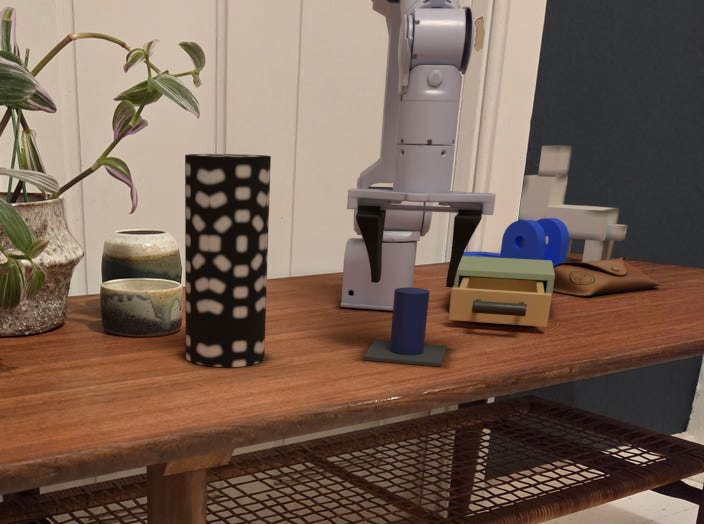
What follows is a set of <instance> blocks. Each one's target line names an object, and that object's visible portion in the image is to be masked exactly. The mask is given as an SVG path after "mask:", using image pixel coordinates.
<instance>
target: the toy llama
mask: <svg viewBox="0 0 704 524" xmlns="http://www.w3.org/2000/svg"><path fill="white" fill-rule="evenodd" d="M572 152H573V145H542V146H541V151H540V153H541V154H540V159H539V166H538V174H529V175H527V174H526V175H524V176H523V182H522V183H523V184H522V190H521V198H520V206H519V213H518V221H519V220H534V221H537V220H539V219H545V218H556V219H559V220H561V221H562V222H563V223H564V224H565V225H566V227H567V229H568V233H569V243H568V249H567V256H566V262H570V256H571V249H572V243H573V239H574V240H584V241H585V242H584V248H583V254H582V260H581V262H588V261H600V260H612V257H613V252H614V246H615V242H622V241H626V236H627V230H628V224H619V218H620V217H619V216H620V211H621V207H609V206H594V205H592V206H591V205H578V204H565V198H566V193H567V186H568V179H569V173H570V165H571V158H572V154H573V153H572ZM547 243H548V236H546V244H547Z"/></svg>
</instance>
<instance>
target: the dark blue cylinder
mask: <svg viewBox="0 0 704 524" xmlns="http://www.w3.org/2000/svg"><path fill="white" fill-rule="evenodd" d="M429 301H430V290H428V289H426V288H421V287H413V288H397V289H395V292H394V303H393V311H392V317H391V327H390V329H391V331H390V340H389V341H390V351H391V352H393V353H396V354H401V355H418V354H422V353H423V352H424V344H425V342H426V331H427V321H428V311H429Z"/></svg>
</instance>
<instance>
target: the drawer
mask: <svg viewBox="0 0 704 524" xmlns="http://www.w3.org/2000/svg"><path fill="white" fill-rule="evenodd" d="M451 289H452V288H451ZM450 298H451V305H450V304H449V308H450V311H449V314H448V321H458V322H472V323H484V324H485V323H486V324H500V325H514V326H528V327H541V328H547V327H548V321H549V318H548V315H549V316H550V312H549V309H550V310H551V305H550V302H551V303H552V299H551V293H544V287H543V280H528V279H511V278H494V277H477V276H464V277H463V280H462V282H461V285H460V287H459V288H456V287H453V289H452V296H451V295H450Z"/></svg>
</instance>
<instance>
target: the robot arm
mask: <svg viewBox="0 0 704 524" xmlns="http://www.w3.org/2000/svg"><path fill="white" fill-rule="evenodd" d="M370 1H371V2H372V6H371V7H372V8H371V9H372V10H373V11H374V12H376V13H378V14H380V15H382V16H383V17H384V18H385V22H386V28H387V34H388V42H387V54H386V55H387V56H386V69H385V85H384V96H383V97H384V98H383V108H382V123H381V124H382V125H381V139H380V151H379V158H378V159H377V160H376V161H375V162H373V163H372V164H370V165H369V166H368V167H366V168H365V169H364V170H362V171H361V172H360V174H359V176H358V178H357V180H356V188H349V189H348V190H347V202H346V209H347V210H353V226H352V227H353V231H354V232H355V233H356V235H357V236H361V237H350V238H348V239H347V241H346V244H345V249H344V255H343V265H342V266H343V267H342V282H341V283H342V284H341V299H340V301H341V302H340V305H339V306H340V307H341V308H350V309H351V308H352V309H361V310H363V309H364V310H376V311H377V310H378V311H392V312H393V303H394V292H395V289H397V288H414V282H415V280H414V279H415V269H416V258H417V249H418V248H417V247H418V242H420V241H421V237H425V236H426V235H427V234H428V233H429V231H430V229H431V224H432V218H433V213H451V214H452V213H454V214H456V215H454V217H453V219H454V220H453V227H452V228H453V230H452V241H451V251H450V258H449V264H448V268H447V275H446V282H445V288H452V287H453V286H454V282H455V277H456V273H457V270H458V267H459V264H460V261H461V258H462V256H463V253H464V252H466V249H467V247H468V245H469V242H470V241H471V239H472V237H473V235H474V234H475V231H476V229H477V228H478V227H479V225H480V224H481V221H482V219H483V215H485V216H493V215H494V213H495V203H496V196H497V194H496V193H494V192H474V191H460V190H459V191H457V190H451V187H452V179H453V167H454V159H455V149H456V138H457V129H458V119H459V110H460V103H461V101H460V100H461V94H462V93H461V92H462V83H463V76H465V75H466V72H467V71H468V68H469V65H470V60H471V57H472V52H473V46H474V37H475V21H474V19H475V18H474V10H473V6H471V5H464V6H462V7H461V3H460V0H370ZM376 184H392V186H373V185H376ZM434 203H438V204H437V206H436V205H434Z"/></svg>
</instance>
